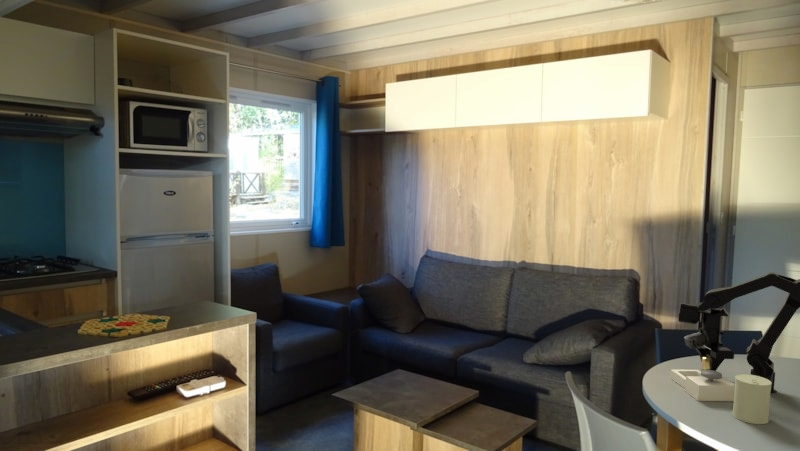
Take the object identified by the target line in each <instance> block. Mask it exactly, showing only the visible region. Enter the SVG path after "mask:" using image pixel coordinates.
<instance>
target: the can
mask: <svg viewBox="0 0 800 451" xmlns="http://www.w3.org/2000/svg"><path fill="white" fill-rule="evenodd" d="M749 374H750V373H749ZM749 374H748V373H741V374H736V375H735V377H734V378H735V381H734V384H735V394H734V401H733V405H732V406H733V408H732V413H731V414H732V416H733V417H734V418H735V419H737V420H739V421H742V422H744V423H749V424H752V425H753V424H754V425H766V424H768V423H769V421H770V420H769V413H770V402H771V393H772V392H771V384H772V382H771V381H770V380H768V379H766V378H763V377H760V376H756V375H749Z"/></svg>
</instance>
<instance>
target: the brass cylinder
mask: <svg viewBox="0 0 800 451" xmlns="http://www.w3.org/2000/svg"><path fill="white" fill-rule="evenodd" d="M700 367H701V369H700V371H701V370H710V358H709V357H708V356H706V355H705V356H702V363H701V366H700Z"/></svg>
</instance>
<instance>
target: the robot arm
mask: <svg viewBox="0 0 800 451" xmlns="http://www.w3.org/2000/svg"><path fill="white" fill-rule="evenodd" d="M769 287H774V288H777V289H779V290H781V291H783V292H786V293H787V295H786V298H785V301H784V303H783V304H782V306H781V308H779V310H778V312H777V314H776V315H775V316H774V318H773V320H772V321H771V323H770V324H769V326H768V327H767V329H766V331H765V332H764V333H763V335H762V337H760V338H759V339H758V340H756V339H755V338H753V339H752V341H751V343H750V344H749V346H747V348H746V354H747V355H746V362H747V364H748V365H749V366H750V367H752V368H751V369H750V373H749V375H756V376H760V377H763V378H766V379H768V380H770V381H771V382H772V384H771V392H770V393H777V392H778V390H776V389H775V381H776V371H775V363H774V362H773V361H772V360H771V359H770V355H771V353H772V350H773V347H774V345H775V343H776V342H777V340H779V338H780V337H781V334H782V332H783V331H784V330H785V328H786V327H787V325H788V324H789V322H790V321H791V319H792V318H793V316H794V315H795V313H796V312H797V310H799V309H800V278H797V279H795V278H792V277H788V276H785V275H781V274H779V273H776V272H773V271H770V272H767V273H766V274H764V275H760V276H758V277H755V278H752V279H749V280H746V281H743V282H740V283H738V284H735V285H733V286H732V285H731V286H728V287H727V286H726V287H719V288H714V289H710V290H708V291H707V292H706V293H705V295H704V297H703V300H702V301H701V302H699V303H698V305H697V304H691V303H690V304H689V303H685V302H681V303H680V307H679V308H680V309H679V313H678V323H683V324H690V325H697V324H698V323H701V322H702V324H701V325H702V327H699V328H698V332H695V333H690V334H687V335H685V336H684V337H683V338H684V342H685V346H686V347H688V348H690V349H691V350H696V352H698V355H699V359H700V362H701V364H702V356H705V355H706V356H708V357H709V358H710V370H713V371H717V370H718V368H719V367H720V366H721V364H722V363H723V361H724V360H734V359H735V352H734V351H733V350H731V349H730V348H728V347H723V345H724V343H722V342H721V335H724V334H725V331H723V330H722V320H723V317H725V318H726V317H728V316H729V314H730V313H729V312H728V311H727V310H726V309H725V308H724V307H722V306H725V305H727V304H728V303H730V302H731V301H733V300H735V299H737V298H740V297H742V296H746V295H749V294H752V293H754V292H758V291H761V290H764V289H766V288H769ZM721 307H722V308H721ZM719 308H721V309H719Z"/></svg>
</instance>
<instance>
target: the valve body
mask: <svg viewBox="0 0 800 451" xmlns="http://www.w3.org/2000/svg"><path fill="white" fill-rule="evenodd" d="M669 372H670V373H669V374H670V375H669V378H670V379H671V380H673V381H674V382H675V383H676V384H678V385H679V386H680V387H682V388H683V389H684V391H685V393H687V394H688V395H690V396H691V398H693V399H694V400H696V401H697V402H734V394H735V383H734V382H731V381H730V380H728V379H727V378H725V377H724V376H723V374H722V372H719V371H717V370H716V371H713V370H701V369H700V370H699V369H670V371H669Z"/></svg>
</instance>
